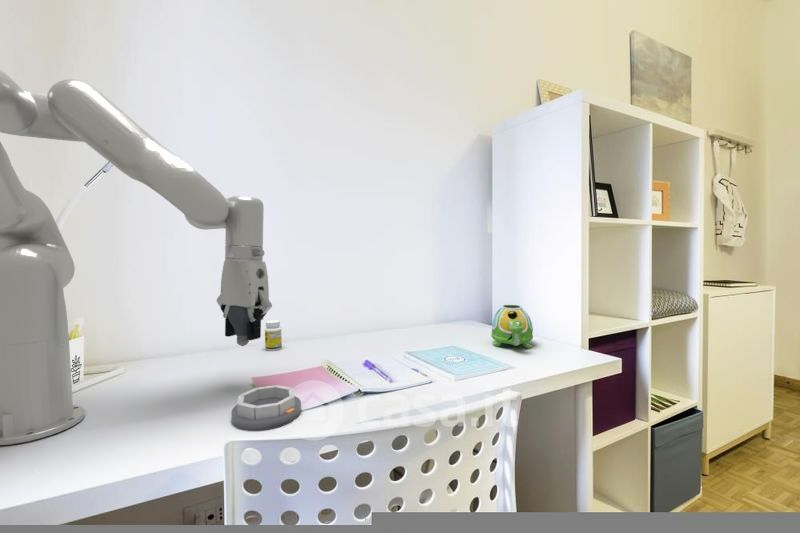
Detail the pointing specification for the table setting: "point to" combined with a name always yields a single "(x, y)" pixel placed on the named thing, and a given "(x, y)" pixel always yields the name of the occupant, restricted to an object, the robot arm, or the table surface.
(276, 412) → the socket
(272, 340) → the supplement bottle
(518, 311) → the turtle holder
